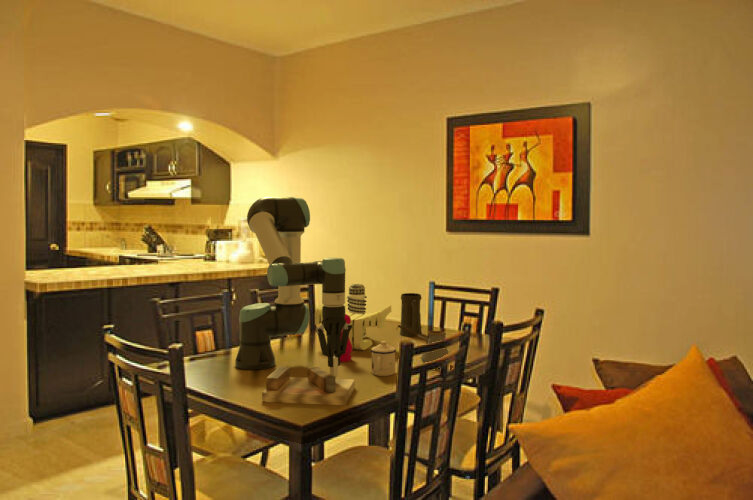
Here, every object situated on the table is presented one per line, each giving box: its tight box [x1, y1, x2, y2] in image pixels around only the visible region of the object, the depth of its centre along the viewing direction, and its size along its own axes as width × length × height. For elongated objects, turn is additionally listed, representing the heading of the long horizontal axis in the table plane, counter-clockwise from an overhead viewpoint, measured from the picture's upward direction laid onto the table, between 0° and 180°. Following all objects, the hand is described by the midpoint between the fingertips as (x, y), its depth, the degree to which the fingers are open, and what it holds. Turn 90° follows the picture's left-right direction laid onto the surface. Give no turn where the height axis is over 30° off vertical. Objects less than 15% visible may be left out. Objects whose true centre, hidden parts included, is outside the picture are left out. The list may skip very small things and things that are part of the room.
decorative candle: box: [346, 283, 368, 339], centre depth 281 cm, size 9×9×25 cm
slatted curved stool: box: [314, 304, 392, 351], centre depth 260 cm, size 30×16×18 cm, turn 74°
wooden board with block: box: [261, 366, 356, 406], centre depth 191 cm, size 26×18×7 cm
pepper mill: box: [340, 311, 353, 363], centre depth 237 cm, size 7×7×20 cm
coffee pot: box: [396, 324, 450, 364], centre depth 230 cm, size 21×12×15 cm, turn 75°
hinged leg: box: [307, 366, 336, 393], centre depth 190 cm, size 16×4×4 cm, turn 27°
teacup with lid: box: [370, 340, 397, 377], centre depth 216 cm, size 12×9×12 cm
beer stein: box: [399, 292, 423, 337], centre depth 285 cm, size 15×11×20 cm
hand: (333, 376), depth 195 cm, fingers closed
